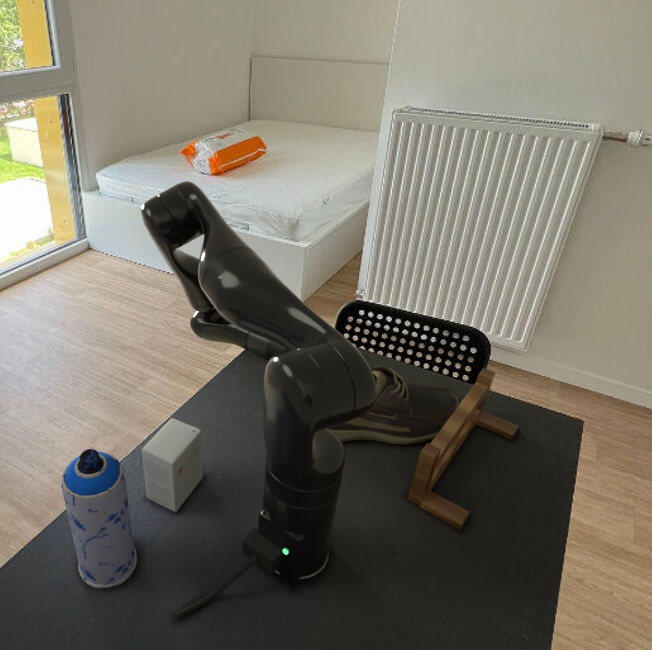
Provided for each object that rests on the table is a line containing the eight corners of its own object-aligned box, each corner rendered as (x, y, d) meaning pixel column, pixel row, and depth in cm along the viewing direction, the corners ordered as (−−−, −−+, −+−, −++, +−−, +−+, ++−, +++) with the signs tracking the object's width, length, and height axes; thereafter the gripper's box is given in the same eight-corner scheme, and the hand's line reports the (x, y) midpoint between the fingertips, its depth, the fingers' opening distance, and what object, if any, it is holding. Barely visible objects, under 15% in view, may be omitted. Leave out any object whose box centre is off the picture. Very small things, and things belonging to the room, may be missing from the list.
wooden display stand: (460, 530, 76) (478, 481, 71) (406, 500, 81) (419, 452, 75) (516, 431, 93) (534, 386, 88) (469, 411, 98) (484, 367, 92)
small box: (174, 464, 87) (171, 416, 82) (203, 478, 85) (202, 428, 79) (145, 498, 81) (139, 448, 76) (175, 514, 79) (172, 463, 73)
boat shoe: (471, 440, 91) (488, 391, 86) (305, 457, 88) (311, 407, 83) (440, 399, 100) (453, 353, 95) (288, 413, 97) (293, 366, 92)
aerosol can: (94, 531, 76) (74, 426, 66) (145, 543, 75) (133, 438, 64) (67, 580, 70) (41, 473, 59) (123, 595, 68) (105, 488, 58)
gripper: (255, 342, 99) (338, 379, 89) (295, 314, 107) (375, 345, 97) (254, 374, 103) (333, 413, 93) (292, 345, 111) (369, 378, 101)
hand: (354, 378), depth 95 cm, fingers closed
